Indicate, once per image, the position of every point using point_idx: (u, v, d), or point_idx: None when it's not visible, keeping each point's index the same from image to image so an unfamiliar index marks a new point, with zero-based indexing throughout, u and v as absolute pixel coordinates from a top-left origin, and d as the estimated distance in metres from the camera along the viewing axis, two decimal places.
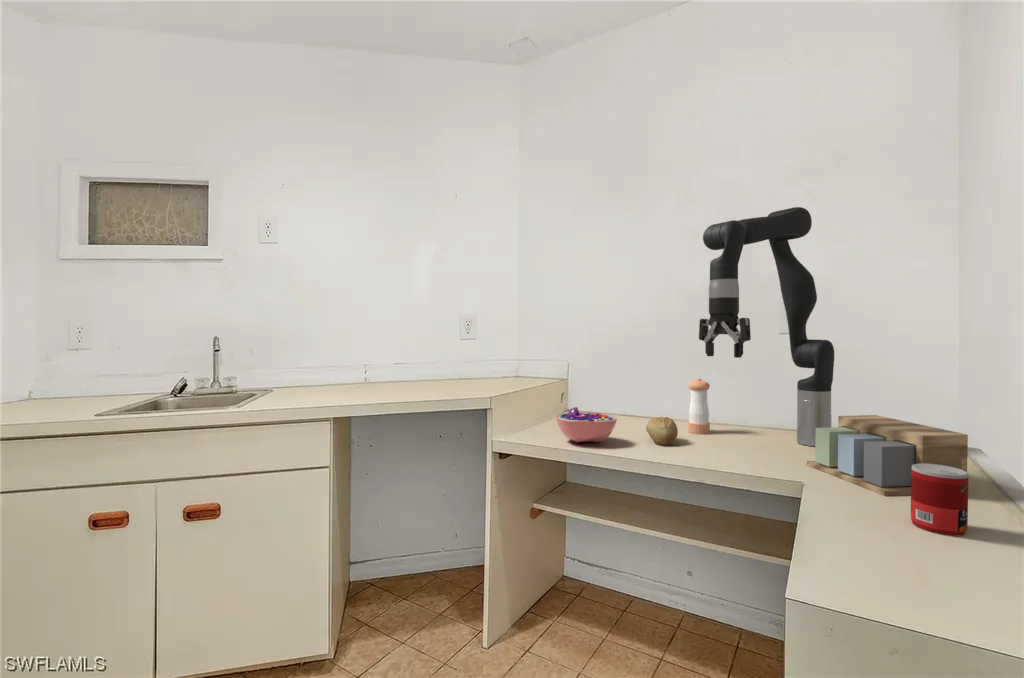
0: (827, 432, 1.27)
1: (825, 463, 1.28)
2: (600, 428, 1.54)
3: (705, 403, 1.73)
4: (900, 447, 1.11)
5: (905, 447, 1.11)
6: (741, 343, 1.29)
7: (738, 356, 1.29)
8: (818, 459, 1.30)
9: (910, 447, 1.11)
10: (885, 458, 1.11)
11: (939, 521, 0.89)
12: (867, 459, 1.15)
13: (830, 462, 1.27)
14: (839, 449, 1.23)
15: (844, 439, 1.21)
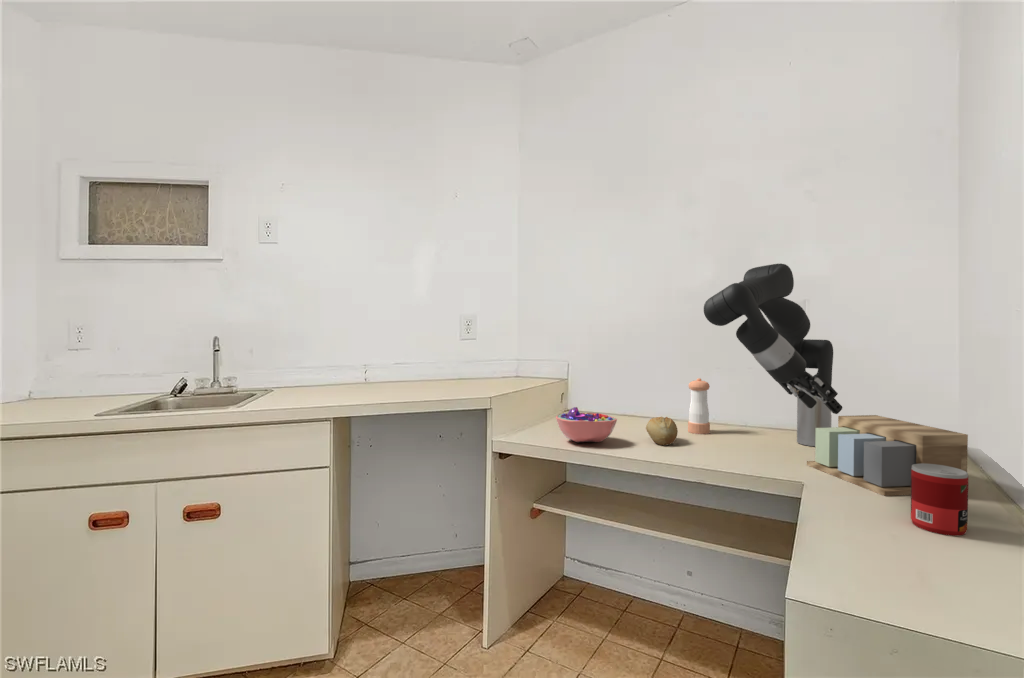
0: (827, 432, 1.27)
1: (825, 463, 1.28)
2: (600, 428, 1.54)
3: (705, 403, 1.73)
4: (900, 447, 1.11)
5: (905, 447, 1.11)
6: None
7: (838, 411, 1.07)
8: (818, 459, 1.30)
9: (910, 447, 1.11)
10: (885, 458, 1.11)
11: (939, 521, 0.89)
12: (867, 459, 1.15)
13: (830, 462, 1.27)
14: (839, 449, 1.23)
15: (844, 439, 1.21)
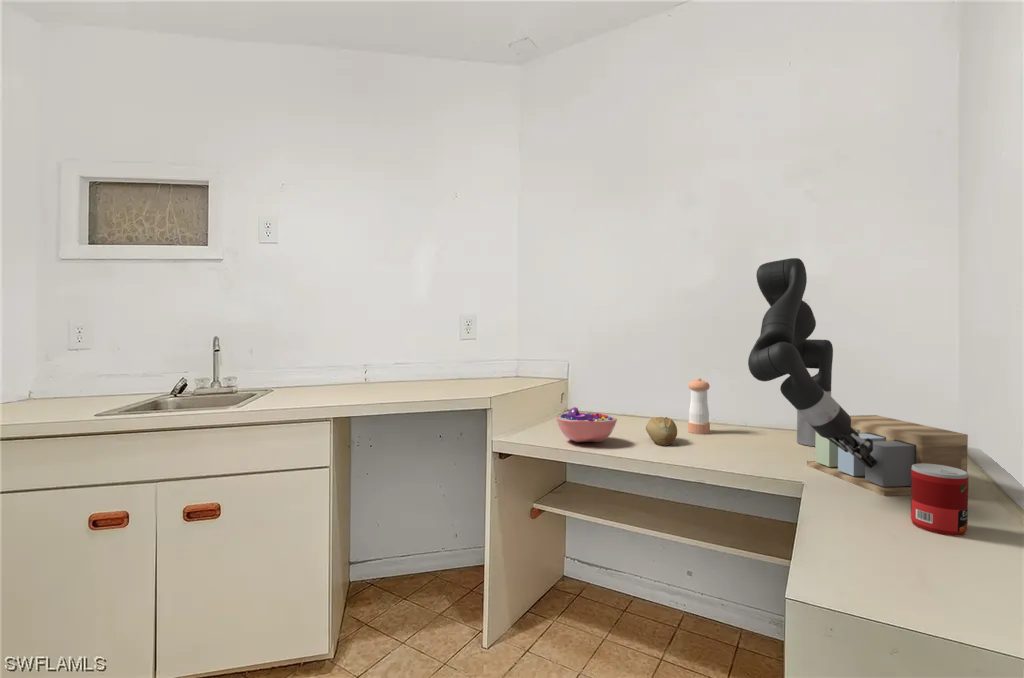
0: None
1: (825, 463, 1.28)
2: (600, 428, 1.54)
3: (705, 403, 1.73)
4: (902, 447, 1.11)
5: (907, 447, 1.11)
6: None
7: None
8: (818, 459, 1.30)
9: (912, 447, 1.11)
10: (887, 458, 1.11)
11: (939, 521, 0.89)
12: None
13: (830, 462, 1.27)
14: (839, 449, 1.23)
15: None
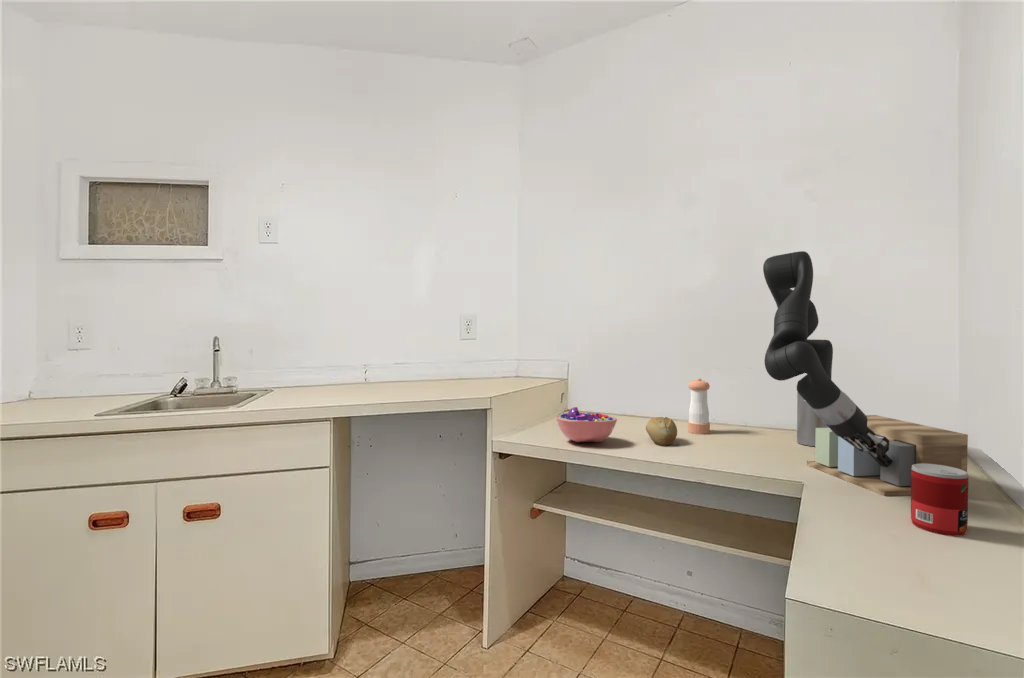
0: (827, 432, 1.27)
1: (825, 463, 1.28)
2: (600, 428, 1.54)
3: (705, 403, 1.73)
4: None
5: None
6: None
7: (888, 464, 1.13)
8: (818, 459, 1.30)
9: None
10: (902, 457, 1.11)
11: (939, 521, 0.89)
12: None
13: (830, 462, 1.27)
14: (839, 449, 1.23)
15: None
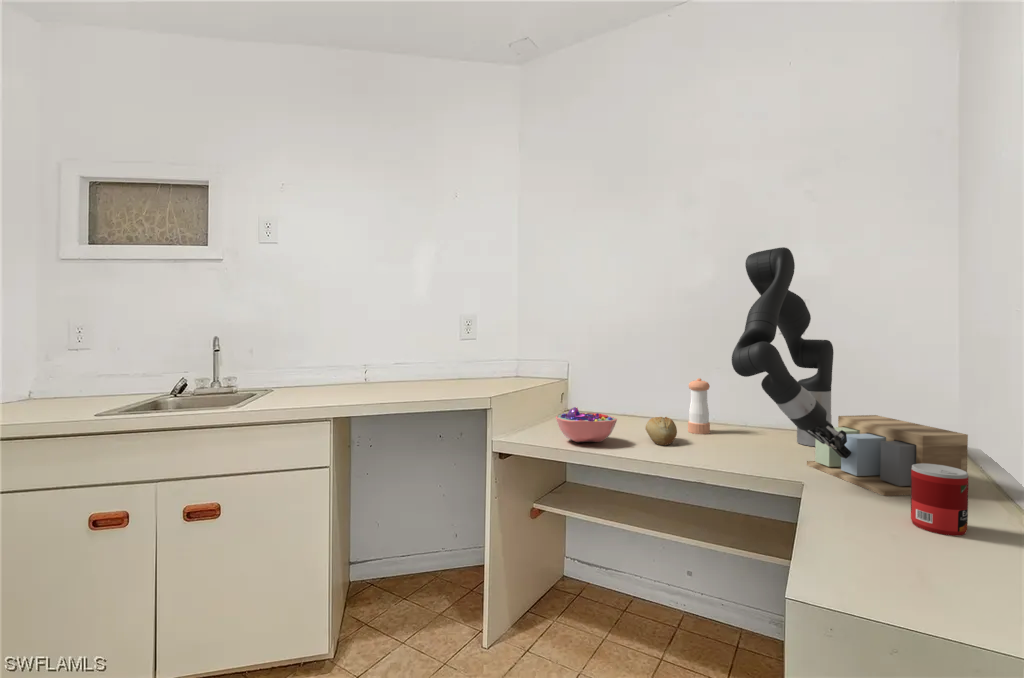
0: None
1: (825, 463, 1.28)
2: (600, 428, 1.54)
3: (705, 403, 1.73)
4: None
5: None
6: None
7: (847, 456, 1.20)
8: (818, 459, 1.30)
9: None
10: (902, 457, 1.11)
11: (939, 521, 0.89)
12: (883, 459, 1.15)
13: (830, 462, 1.27)
14: None
15: (847, 439, 1.22)
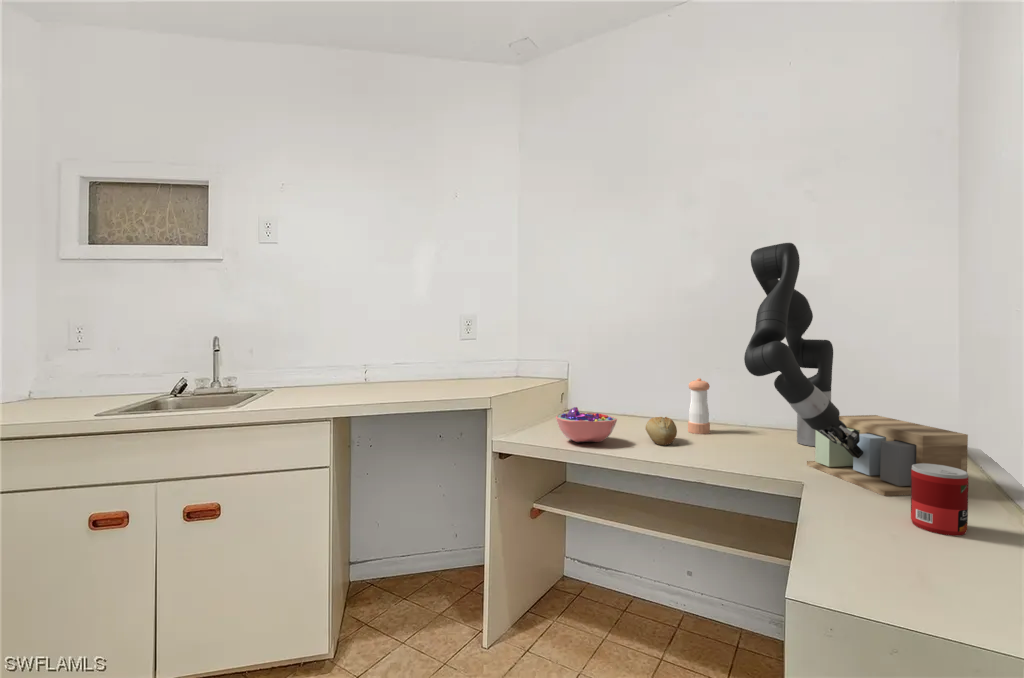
0: None
1: (825, 463, 1.28)
2: (600, 428, 1.54)
3: (705, 403, 1.73)
4: None
5: None
6: None
7: (859, 455, 1.21)
8: (818, 459, 1.30)
9: None
10: (902, 457, 1.11)
11: (939, 521, 0.89)
12: (883, 459, 1.15)
13: (830, 462, 1.27)
14: None
15: None
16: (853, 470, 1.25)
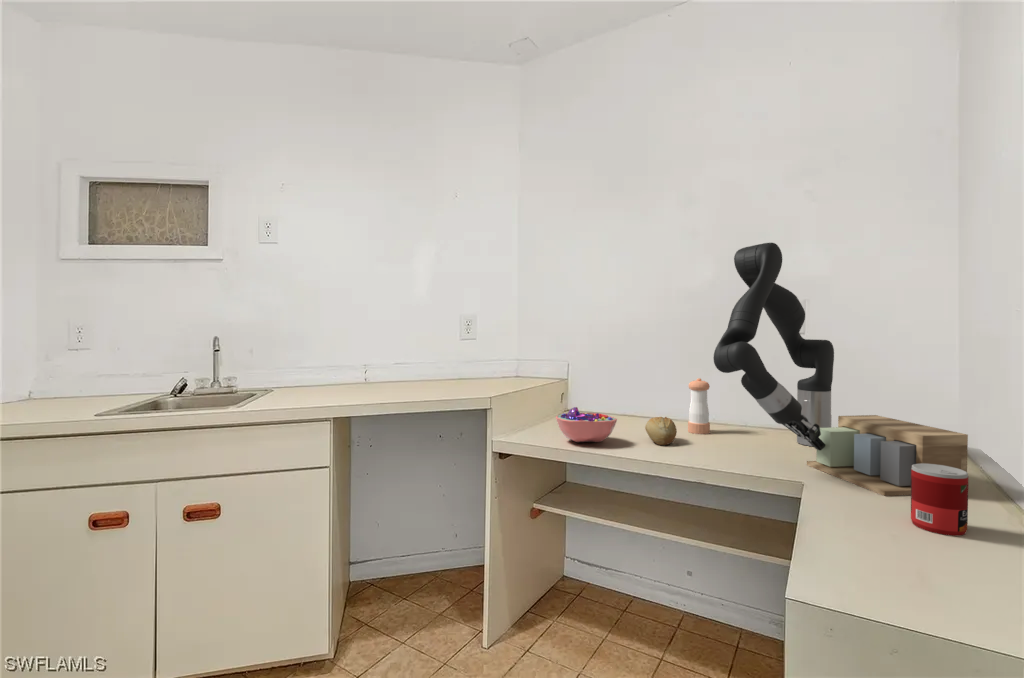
0: (828, 432, 1.27)
1: (826, 463, 1.28)
2: (600, 428, 1.54)
3: (705, 403, 1.73)
4: None
5: None
6: (815, 439, 1.27)
7: None
8: (819, 459, 1.30)
9: None
10: (902, 457, 1.11)
11: (939, 521, 0.89)
12: (883, 459, 1.15)
13: (831, 462, 1.27)
14: (855, 449, 1.23)
15: (860, 439, 1.22)
16: (853, 470, 1.25)
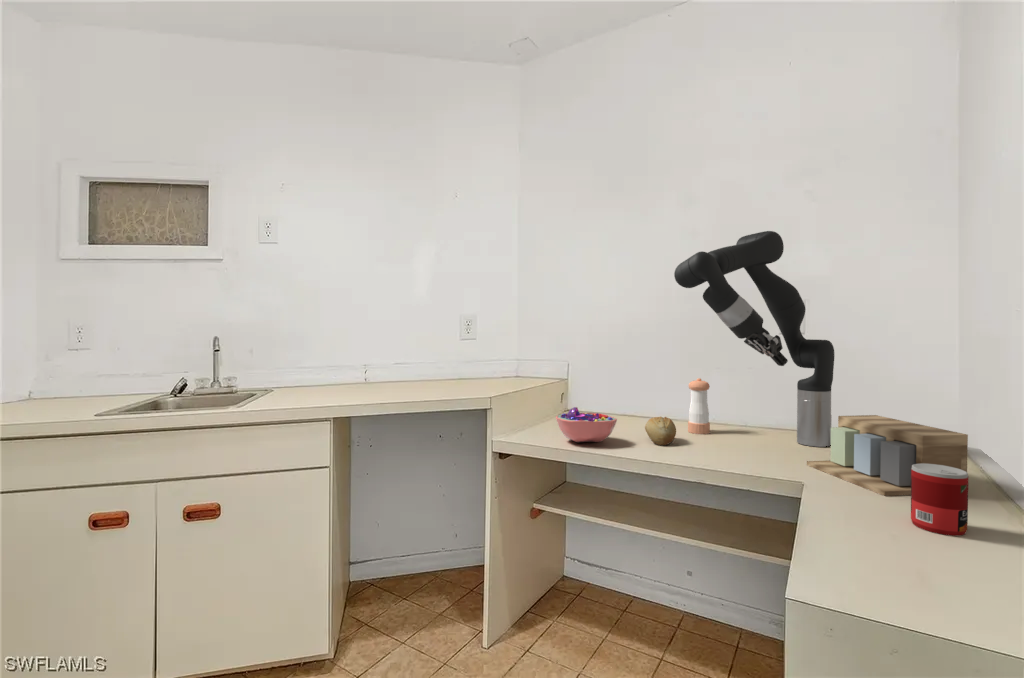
0: (843, 432, 1.27)
1: (841, 462, 1.28)
2: (600, 428, 1.54)
3: (705, 403, 1.73)
4: None
5: None
6: (777, 354, 1.26)
7: (784, 363, 1.27)
8: (833, 459, 1.31)
9: None
10: (902, 457, 1.11)
11: (939, 521, 0.89)
12: (883, 459, 1.15)
13: (846, 461, 1.27)
14: (855, 449, 1.23)
15: (860, 439, 1.22)
16: (853, 470, 1.25)
